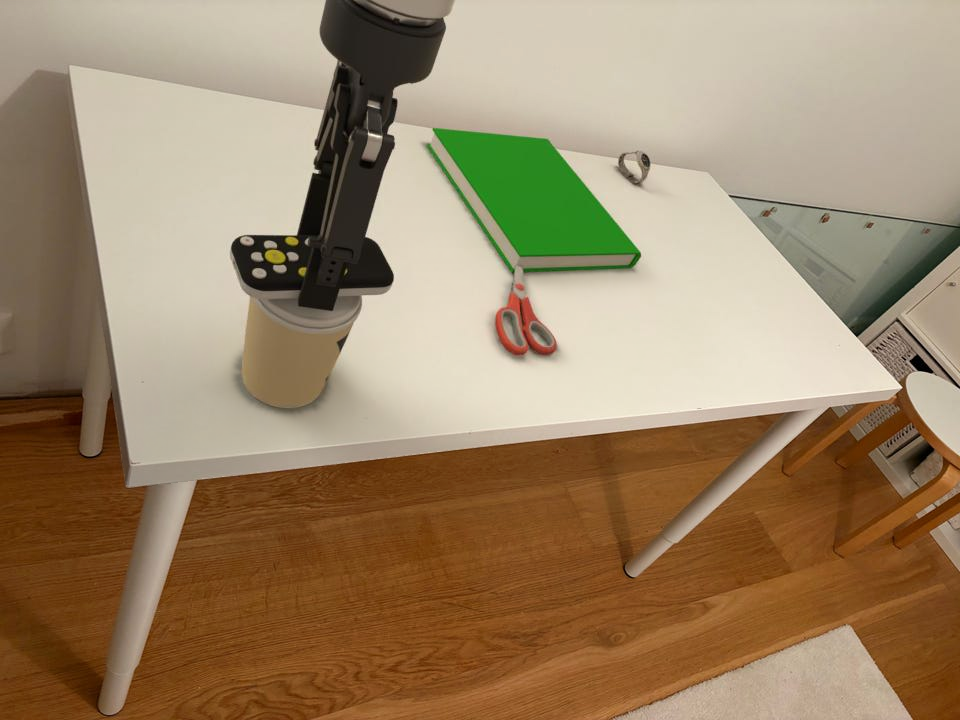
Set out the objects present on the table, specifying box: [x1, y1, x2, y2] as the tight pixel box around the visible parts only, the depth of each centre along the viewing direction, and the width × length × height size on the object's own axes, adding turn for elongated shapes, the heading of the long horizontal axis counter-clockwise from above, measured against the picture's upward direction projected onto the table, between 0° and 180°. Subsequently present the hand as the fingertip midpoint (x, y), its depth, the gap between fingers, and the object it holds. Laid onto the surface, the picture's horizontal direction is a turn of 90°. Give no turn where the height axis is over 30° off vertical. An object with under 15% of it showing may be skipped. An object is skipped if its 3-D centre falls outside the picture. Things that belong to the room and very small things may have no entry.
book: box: [426, 127, 642, 274], centre depth 107 cm, size 22×28×3 cm
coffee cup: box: [241, 296, 363, 409], centre depth 64 cm, size 9×9×12 cm
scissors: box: [494, 265, 558, 357], centre depth 90 cm, size 8×21×2 cm, turn 11°
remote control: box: [229, 234, 395, 299], centre depth 59 cm, size 6×13×2 cm, turn 117°
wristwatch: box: [617, 150, 652, 184], centre depth 126 cm, size 4×6×5 cm, turn 42°
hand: (314, 271), depth 60 cm, fingers closed on remote control, 7 cm apart
